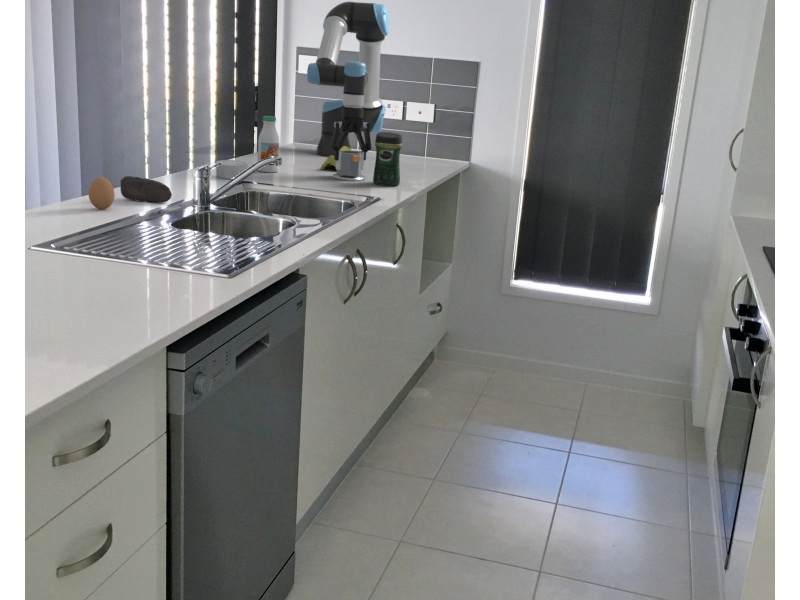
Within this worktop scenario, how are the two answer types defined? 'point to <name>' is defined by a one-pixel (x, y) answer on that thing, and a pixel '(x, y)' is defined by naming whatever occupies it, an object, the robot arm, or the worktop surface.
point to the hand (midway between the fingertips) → (349, 169)
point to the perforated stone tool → (144, 189)
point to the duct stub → (349, 177)
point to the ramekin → (230, 168)
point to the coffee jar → (387, 159)
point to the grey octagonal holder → (350, 163)
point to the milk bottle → (268, 143)
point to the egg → (101, 193)
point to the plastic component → (332, 159)
